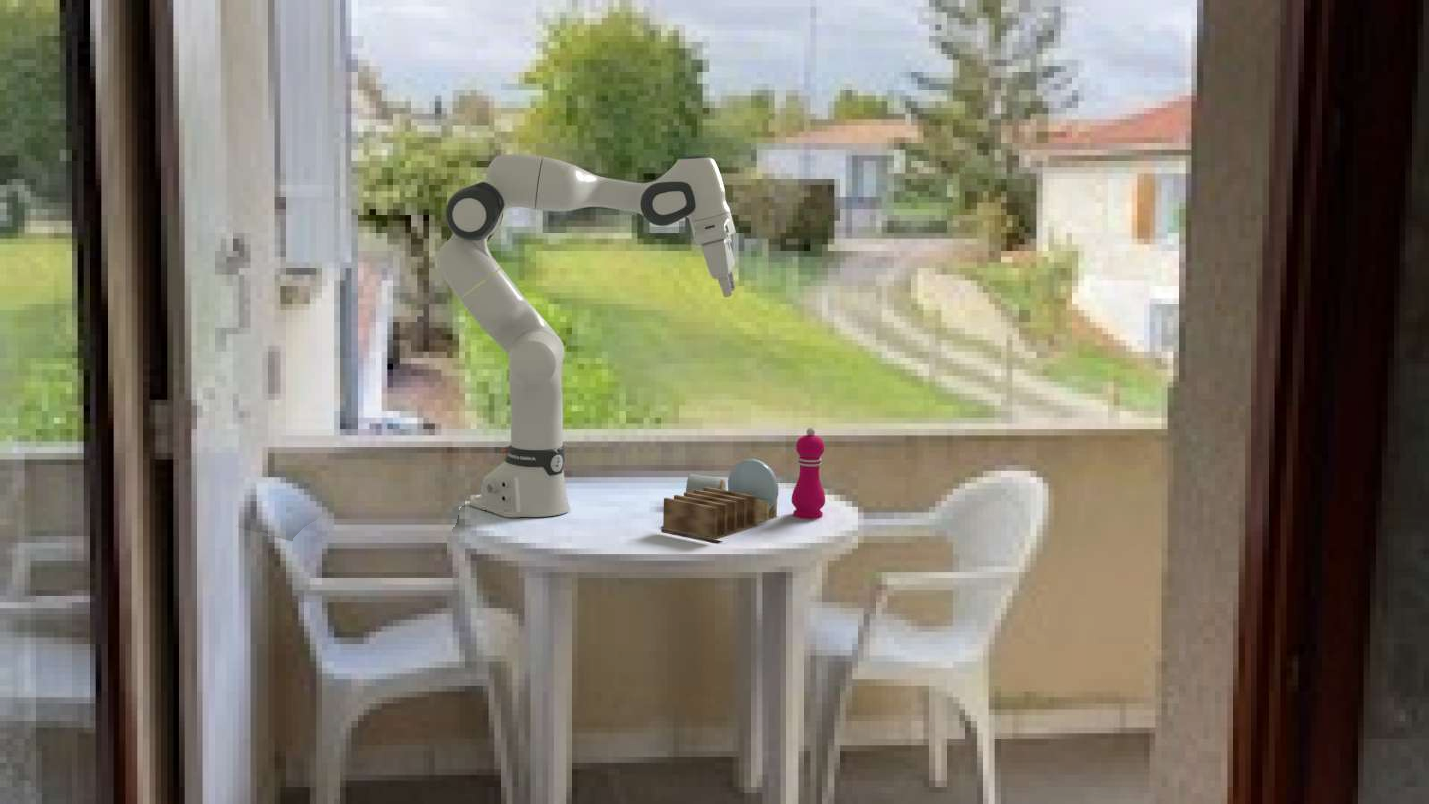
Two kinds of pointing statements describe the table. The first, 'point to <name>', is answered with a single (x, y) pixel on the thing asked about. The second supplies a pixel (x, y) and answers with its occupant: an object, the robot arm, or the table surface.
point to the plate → (754, 481)
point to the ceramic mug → (704, 483)
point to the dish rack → (709, 514)
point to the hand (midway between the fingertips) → (730, 293)
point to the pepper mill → (809, 478)
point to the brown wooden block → (765, 511)
